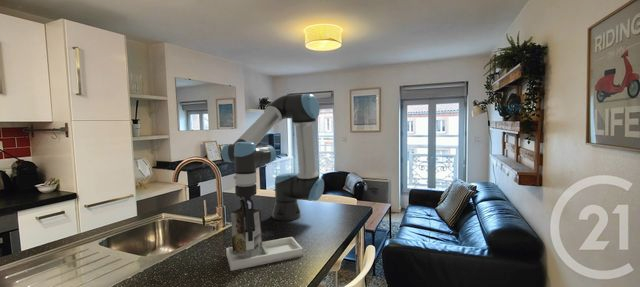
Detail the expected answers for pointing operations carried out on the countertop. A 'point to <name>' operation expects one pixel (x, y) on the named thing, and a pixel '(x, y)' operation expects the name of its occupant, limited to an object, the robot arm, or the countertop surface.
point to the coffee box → (240, 235)
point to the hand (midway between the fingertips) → (247, 243)
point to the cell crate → (266, 253)
